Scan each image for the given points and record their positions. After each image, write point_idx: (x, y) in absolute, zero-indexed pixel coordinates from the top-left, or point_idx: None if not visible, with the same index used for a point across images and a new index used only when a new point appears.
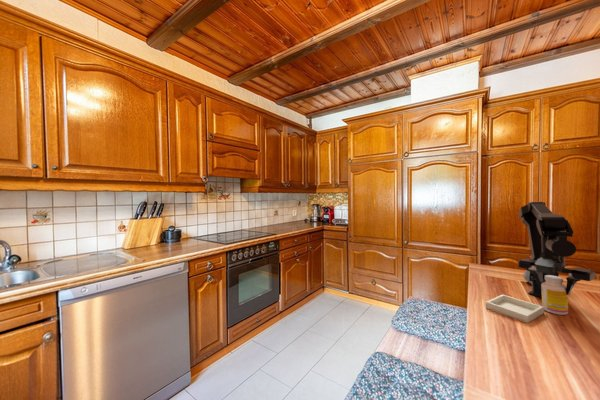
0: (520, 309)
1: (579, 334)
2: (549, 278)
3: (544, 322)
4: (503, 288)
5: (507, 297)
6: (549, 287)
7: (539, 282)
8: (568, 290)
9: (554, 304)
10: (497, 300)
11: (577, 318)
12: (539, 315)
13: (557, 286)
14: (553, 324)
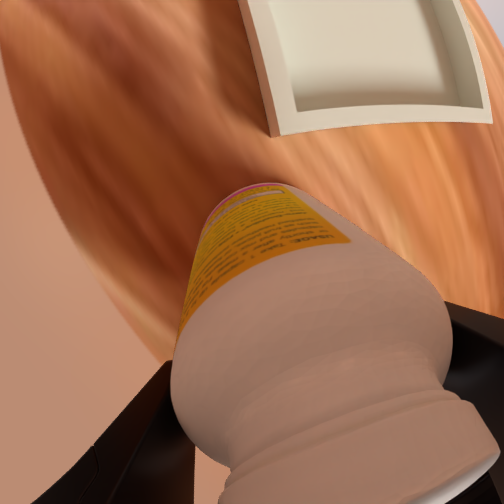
0: (353, 39)
1: (47, 72)
2: (434, 477)
3: (186, 13)
4: (498, 287)
5: (466, 108)
6: (326, 270)
7: (474, 325)
8: (139, 402)
9: (236, 205)
10: (453, 30)
11: (156, 265)
12: (254, 62)
13: (231, 384)
14: (150, 38)
